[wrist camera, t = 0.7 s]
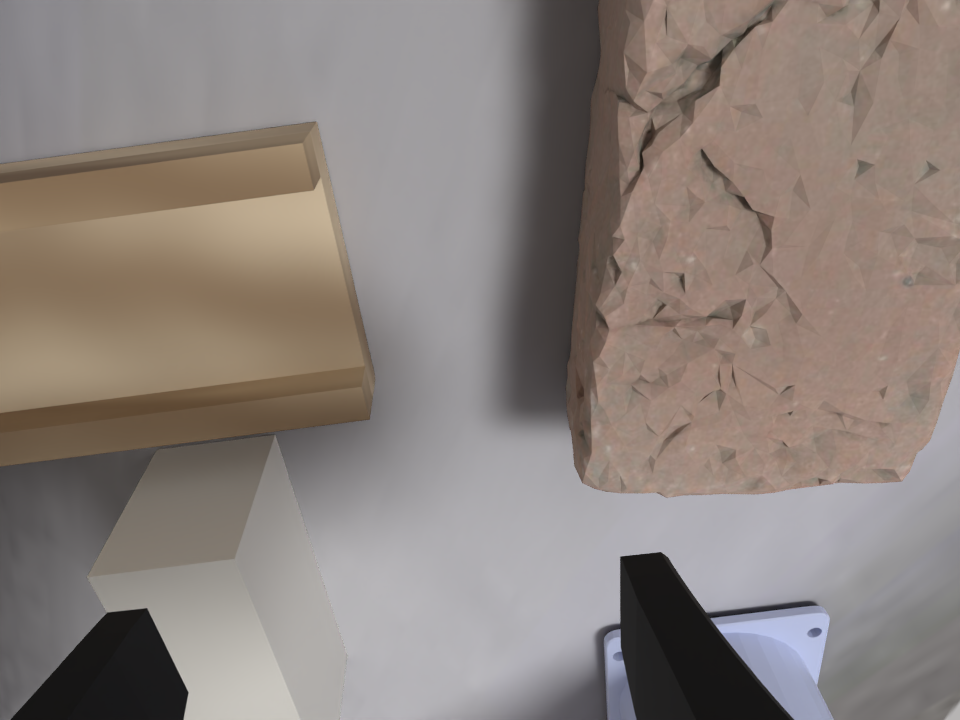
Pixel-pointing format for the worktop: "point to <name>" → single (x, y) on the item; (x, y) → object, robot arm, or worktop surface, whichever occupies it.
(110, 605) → the white rectangular block
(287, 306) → the wooden base plate
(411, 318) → the worktop surface
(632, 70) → the brick
